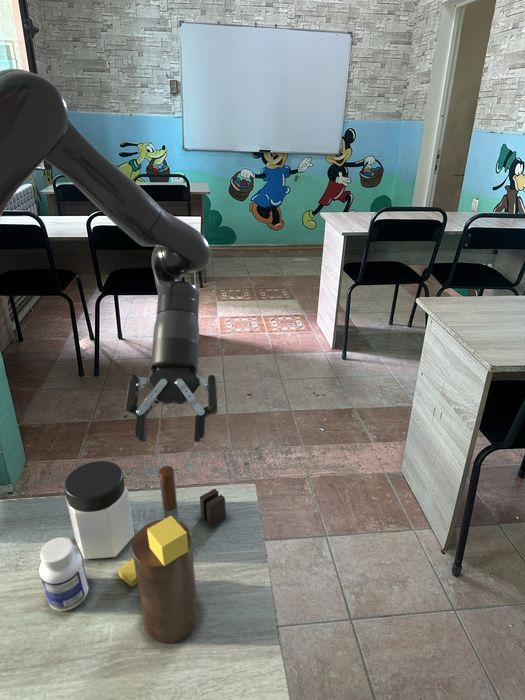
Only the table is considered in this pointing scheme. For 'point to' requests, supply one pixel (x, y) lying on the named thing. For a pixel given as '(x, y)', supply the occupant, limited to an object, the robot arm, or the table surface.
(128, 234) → the robot arm
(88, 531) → the jar
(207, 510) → the knife stand
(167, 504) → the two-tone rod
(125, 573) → the block
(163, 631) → the butter stand
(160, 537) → the butter block
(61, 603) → the pill bottle
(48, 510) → the table surface
